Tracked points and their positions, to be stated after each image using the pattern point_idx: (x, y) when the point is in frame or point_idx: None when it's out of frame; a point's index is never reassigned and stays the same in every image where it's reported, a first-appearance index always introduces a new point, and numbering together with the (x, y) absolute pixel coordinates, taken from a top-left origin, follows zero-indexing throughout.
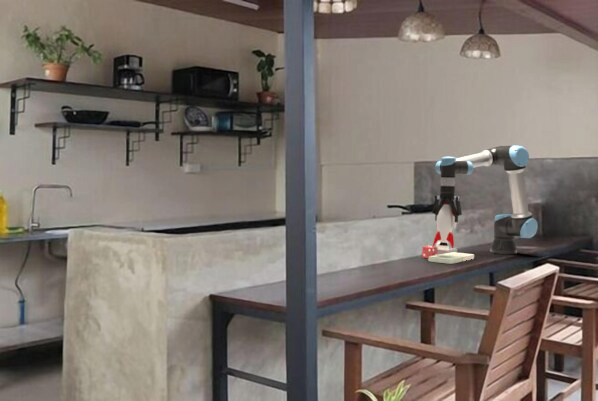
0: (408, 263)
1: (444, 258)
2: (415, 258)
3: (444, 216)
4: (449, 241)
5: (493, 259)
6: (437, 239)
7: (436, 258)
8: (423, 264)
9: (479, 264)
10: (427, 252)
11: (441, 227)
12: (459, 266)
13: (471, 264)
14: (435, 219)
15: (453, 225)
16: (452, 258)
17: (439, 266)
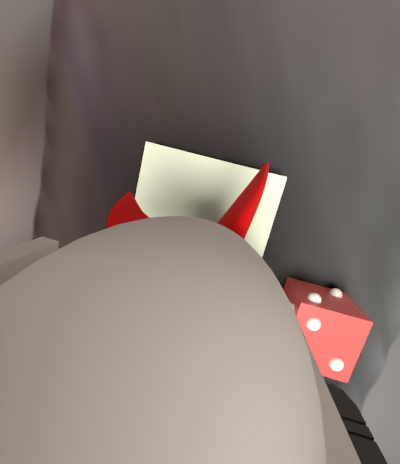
0: (372, 9)
1: (183, 152)
2: (373, 241)
3: (74, 272)
4: (143, 214)
5: None
6: (241, 195)
7: (234, 164)
8: (278, 29)
9: (35, 218)
10: (323, 297)
11: (196, 219)
12: (90, 87)
13: (64, 195)
14: (354, 409)
15: (20, 250)
16: (146, 181)
17: (178, 11)
